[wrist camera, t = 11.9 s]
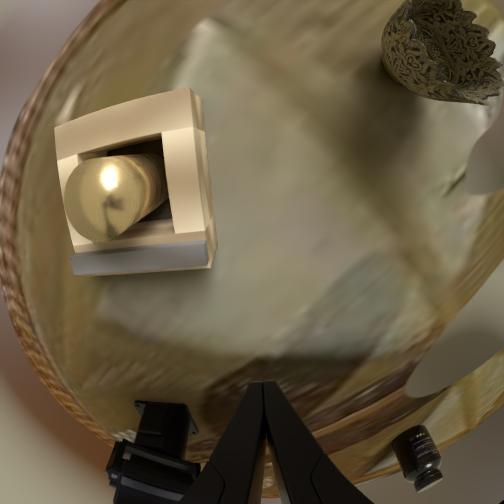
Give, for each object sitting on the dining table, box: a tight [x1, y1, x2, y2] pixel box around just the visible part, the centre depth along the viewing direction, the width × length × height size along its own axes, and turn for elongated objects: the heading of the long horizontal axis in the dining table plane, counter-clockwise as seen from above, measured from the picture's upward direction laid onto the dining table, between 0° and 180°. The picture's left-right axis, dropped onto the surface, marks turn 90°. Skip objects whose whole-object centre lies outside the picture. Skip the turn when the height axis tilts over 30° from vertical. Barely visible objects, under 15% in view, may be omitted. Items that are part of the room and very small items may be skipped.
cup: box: [382, 0, 504, 105], centre depth 10 cm, size 8×7×8 cm
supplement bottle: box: [392, 425, 443, 493], centre depth 26 cm, size 7×7×12 cm
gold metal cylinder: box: [64, 153, 169, 242], centre depth 14 cm, size 4×4×7 cm
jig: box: [55, 88, 218, 277], centre depth 15 cm, size 10×9×5 cm
